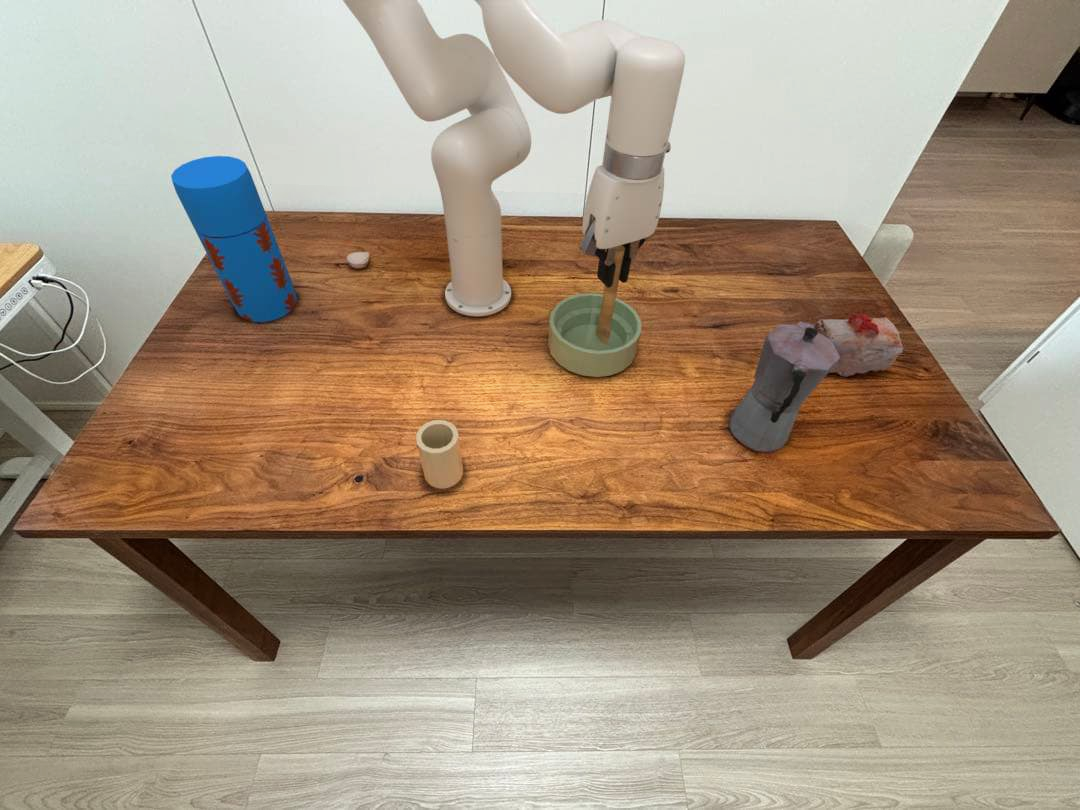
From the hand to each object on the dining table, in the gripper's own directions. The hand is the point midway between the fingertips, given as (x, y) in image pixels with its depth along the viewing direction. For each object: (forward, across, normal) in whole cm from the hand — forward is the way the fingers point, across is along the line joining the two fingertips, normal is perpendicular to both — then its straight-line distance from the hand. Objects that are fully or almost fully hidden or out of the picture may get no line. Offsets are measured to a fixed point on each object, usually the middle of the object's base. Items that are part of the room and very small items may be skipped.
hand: (612, 279), depth 81 cm
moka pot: (+16, -13, +26) cm, 33 cm away
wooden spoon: (+12, 0, 0) cm, 12 cm away
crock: (+16, +33, +10) cm, 38 cm away
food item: (+16, -37, +20) cm, 45 cm away
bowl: (+16, 0, -2) cm, 17 cm away
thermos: (+17, +48, -40) cm, 64 cm away
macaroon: (+17, +29, -44) cm, 56 cm away
